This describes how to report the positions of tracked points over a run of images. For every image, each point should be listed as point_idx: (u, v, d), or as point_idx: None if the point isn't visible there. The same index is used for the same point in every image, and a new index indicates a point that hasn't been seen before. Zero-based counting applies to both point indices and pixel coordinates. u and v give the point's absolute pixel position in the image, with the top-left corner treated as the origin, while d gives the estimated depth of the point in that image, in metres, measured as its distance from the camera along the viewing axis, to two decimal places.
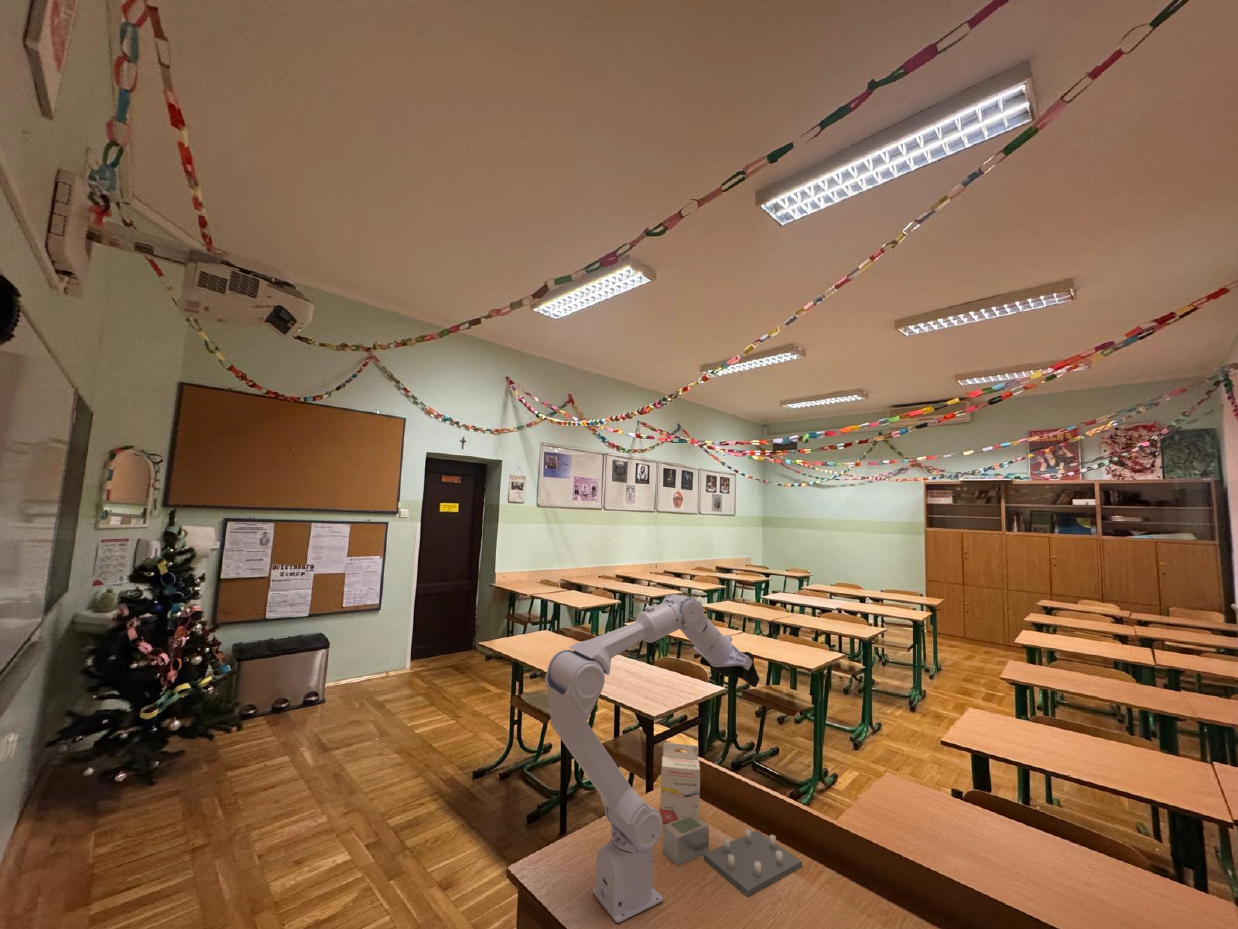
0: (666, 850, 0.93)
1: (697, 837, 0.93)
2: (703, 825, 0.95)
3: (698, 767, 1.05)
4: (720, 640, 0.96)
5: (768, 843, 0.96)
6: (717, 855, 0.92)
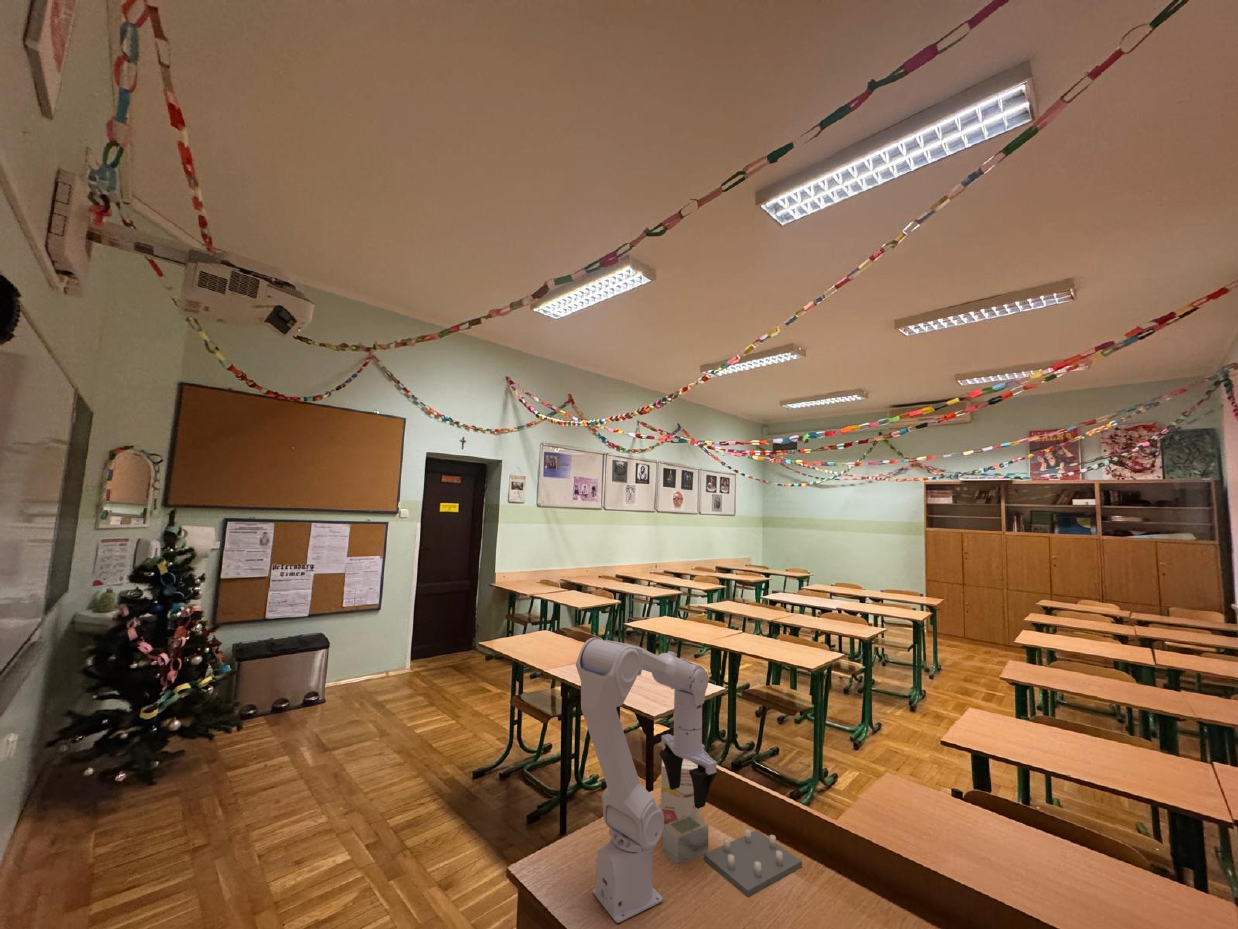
0: (666, 850, 0.93)
1: (697, 837, 0.93)
2: (702, 824, 0.95)
3: None
4: (699, 732, 0.96)
5: (768, 843, 0.96)
6: (717, 855, 0.92)
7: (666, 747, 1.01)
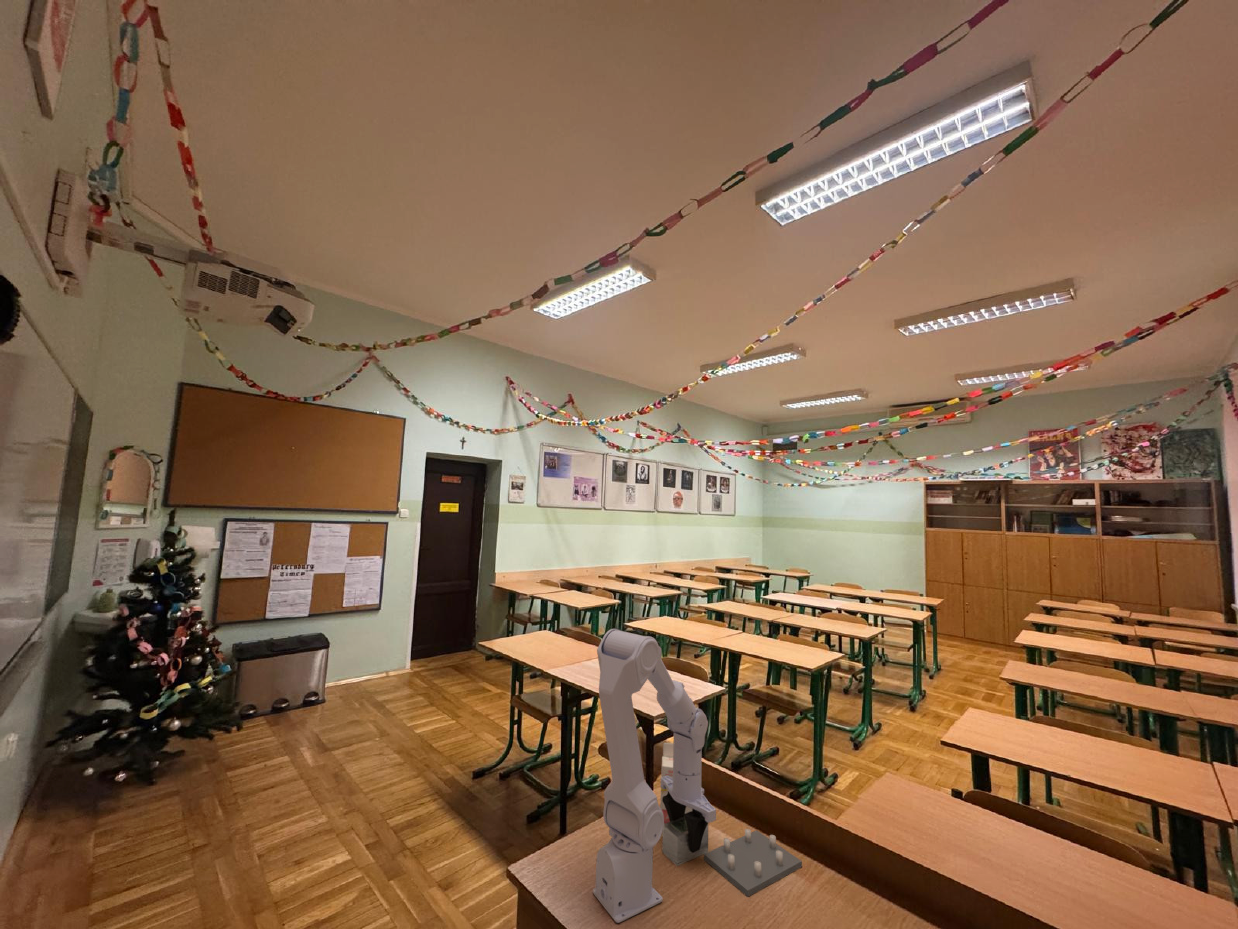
0: (665, 849, 0.93)
1: None
2: None
3: None
4: (699, 777, 0.94)
5: (768, 843, 0.96)
6: (717, 855, 0.92)
7: (669, 793, 0.99)
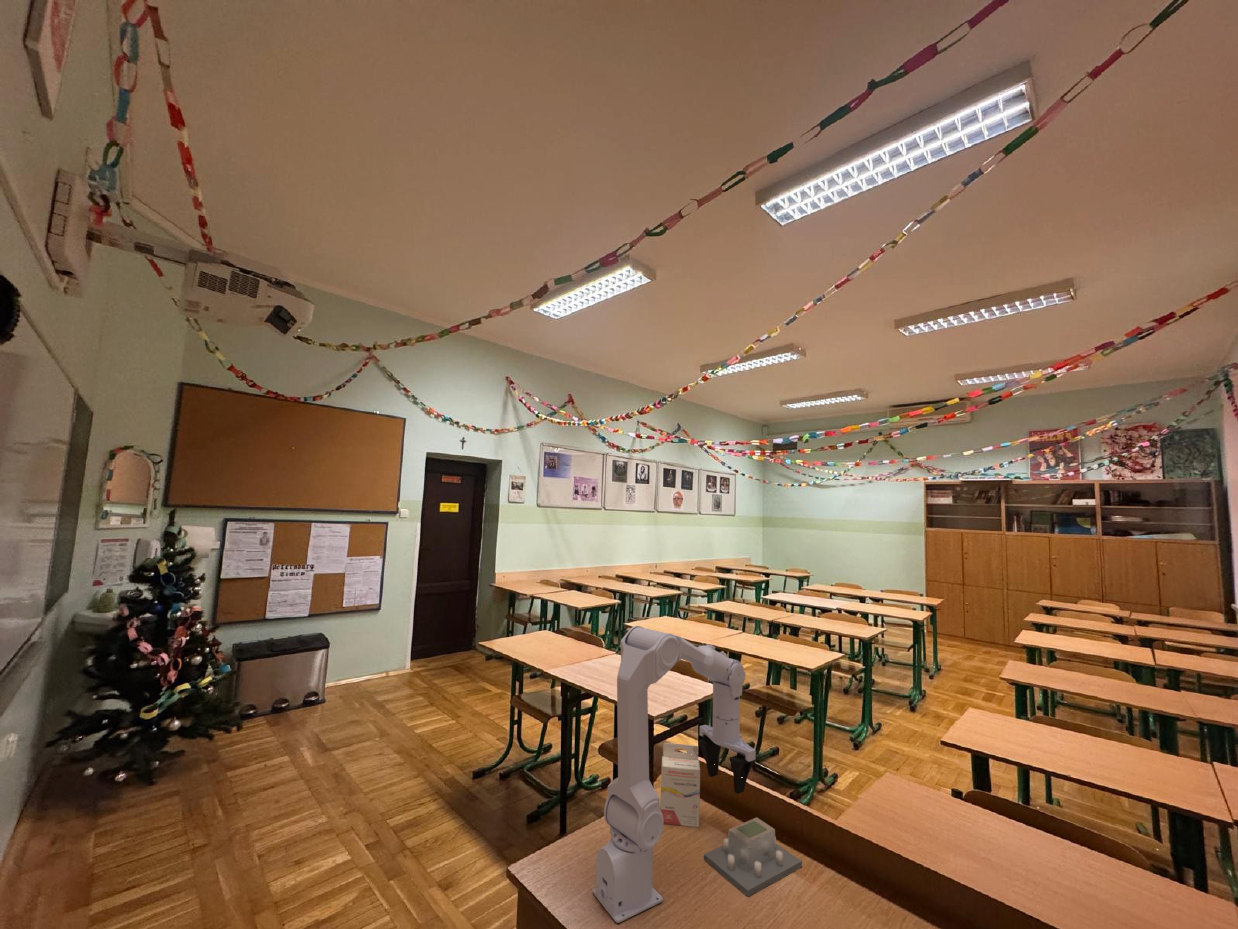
0: None
1: (764, 842, 0.91)
2: (768, 829, 0.93)
3: (698, 767, 1.05)
4: (738, 722, 1.01)
5: None
6: (717, 855, 0.92)
7: (704, 737, 1.07)
